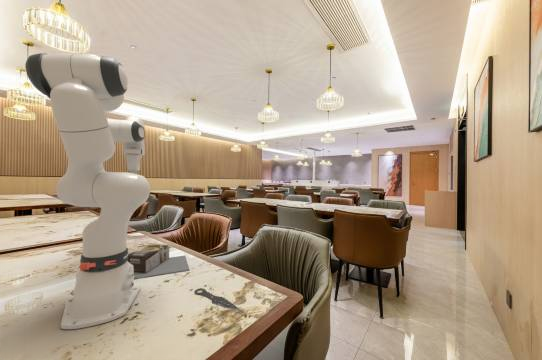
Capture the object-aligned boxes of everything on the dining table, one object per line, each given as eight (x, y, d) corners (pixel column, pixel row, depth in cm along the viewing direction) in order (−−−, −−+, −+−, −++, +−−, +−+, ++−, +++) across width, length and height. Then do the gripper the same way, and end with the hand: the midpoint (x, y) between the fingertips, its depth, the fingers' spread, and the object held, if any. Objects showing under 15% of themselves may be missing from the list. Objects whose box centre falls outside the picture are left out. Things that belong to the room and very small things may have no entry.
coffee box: (169, 244, 103) (146, 256, 87) (169, 258, 103) (146, 273, 87) (150, 242, 104) (124, 255, 88) (150, 256, 104) (124, 271, 88)
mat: (189, 270, 91) (189, 269, 91) (131, 279, 82) (131, 278, 82) (185, 256, 106) (185, 255, 106) (135, 262, 97) (135, 262, 97)
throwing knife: (201, 288, 78) (201, 286, 78) (246, 308, 67) (246, 306, 67) (191, 293, 74) (191, 292, 74) (236, 316, 63) (236, 314, 63)
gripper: (129, 152, 117) (129, 179, 118) (123, 149, 99) (123, 180, 99) (143, 153, 120) (143, 179, 120) (140, 150, 102) (140, 180, 102)
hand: (134, 180), depth 110 cm, fingers closed
